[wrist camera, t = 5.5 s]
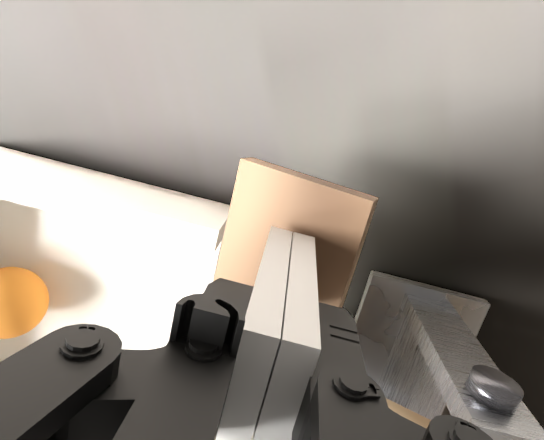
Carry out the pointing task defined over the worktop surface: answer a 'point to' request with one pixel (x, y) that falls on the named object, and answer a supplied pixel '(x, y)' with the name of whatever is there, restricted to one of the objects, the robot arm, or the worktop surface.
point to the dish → (105, 247)
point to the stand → (438, 357)
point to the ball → (21, 301)
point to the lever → (298, 230)
